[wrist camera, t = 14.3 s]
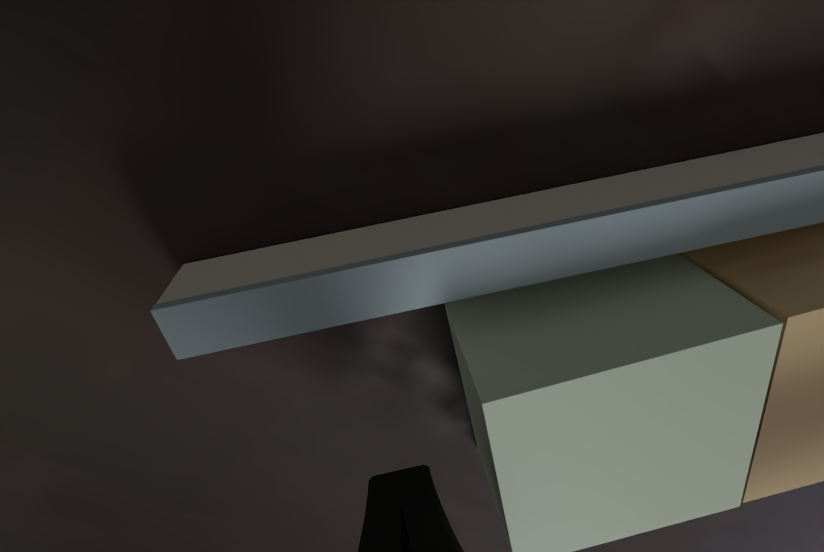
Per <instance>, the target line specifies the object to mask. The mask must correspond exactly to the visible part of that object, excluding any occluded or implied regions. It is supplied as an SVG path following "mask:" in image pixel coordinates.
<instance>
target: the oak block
mask: <svg viewBox="0 0 824 552" xmlns="http://www.w3.org/2000/svg"><path fill="white" fill-rule="evenodd" d="M678 254H680V255H681V256H683V257H684V258H686V259H687V260H689V261H690V262H692V263H693V264H695V265H696V266H698V267H699V268H701V269H702V270H704V271H705V272H707V273H709V274H710V275H712V276H713V277H715V278H716V279H718V280H719V281H721V282H722V283H724V284H725V285H727V286H728V287H730V288H731V289H733V290H734V291H736V292H737V293H739V294H740V295H742V296H743V297H745V298H746V299H748V300H749V301H751V302H752V303H754V304H755V305H757V306H758V307H760V308H761V309H763V310H764V311H766V312H767V313H769V314H770V315H772V316H773V317H775V318H776V319H778V320H779V321H781V322H782V323H783V326H782V330H781V335H780V339H779V343H778V347H777V351H776V356H775V360H774V364H773V368H772V373H771V377H770V381H769V385H768V389H767V394H766V398H765V402H764V406H763V410H762V415H761V419H760V423H759V427H758V432H757V436H756V440H755V444H754V448H753V453H752V457H751V461H750V465H749V469H748V474H747V478H746V482H745V486H744V490H743V495H742V499H741V501H742V503H744V502H748V501H752V500H755V499H759V498H763V497H766V496H770V495H774V494H777V493H781V492H785V491H788V490H792V489H796V488H799V487H803V486H807V485H810V484H814V483H818V482H821V481H824V222H822V223H818V224H813V225H808V226H803V227H799V228H794V229H789V230H785V231H780V232H775V233H771V234H766V235H761V236H757V237H752V238H747V239H742V240H738V241H733V242H728V243H724V244H719V245H714V246H710V247H705V248H700V249H696V250H691V251H686V252H681V253H678Z"/></svg>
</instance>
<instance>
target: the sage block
mask: <svg viewBox="0 0 824 552" xmlns="http://www.w3.org/2000/svg"><path fill="white" fill-rule="evenodd" d="M444 304H445V309H446V313H447V317H448V322H449V326H450V330H451V335H452V339H453V343H454V348H455V352H456V357H457V361H458V365H459V370H460V374H461V378H462V383H463V387H464V391H465V396H466V400H467V404H468V409H469V413H470V417H471V422H472V426H473V430H474V435H475V439H476V444H477V448H478V451H479V454H480V457H481V460H482V463H483V467H484V470H485V473H486V476H487V479H488V482H489V485H490V488H491V492H492V495H493V498H494V501H495V504H496V507H497V510H498V513H499V517H500V520H501V523H502V526H503V529H504V532H505V535H506V538H507V542H508V545H509V548H510V551H511V552H573V551H577V550H580V549H584V548H588V547H592V546H595V545H599V544H603V543H606V542H610V541H614V540H617V539H621V538H625V537H628V536H632V535H636V534H640V533H643V532H647V531H651V530H654V529H658V528H662V527H665V526H669V525H673V524H676V523H680V522H684V521H688V520H691V519H695V518H699V517H702V516H706V515H710V514H713V513H717V512H721V511H724V510H728V509H732V508H736V507H739V506H740V503H741V499H742V495H743V490H744V486H745V482H746V478H747V474H748V469H749V465H750V461H751V457H752V453H753V448H754V444H755V440H756V436H757V432H758V427H759V423H760V419H761V415H762V410H763V406H764V402H765V398H766V394H767V389H768V385H769V381H770V377H771V373H772V368H773V364H774V360H775V356H776V351H777V347H778V343H779V339H780V335H781V330H782V326H783V323H782V322H781V321H779V320H778V319H776V318H775V317H773V316H772V315H770V314H769V313H767V312H766V311H764V310H763V309H761V308H760V307H758V306H757V305H755V304H754V303H752V302H751V301H749V300H748V299H746V298H745V297H743V296H742V295H740V294H739V293H737V292H736V291H734V290H733V289H731V288H730V287H728V286H727V285H725V284H724V283H722V282H721V281H719V280H718V279H716V278H715V277H713V276H712V275H710V274H709V273H707V272H705V271H704V270H702V269H701V268H699V267H698V266H696V265H695V264H693V263H692V262H690V261H689V260H687V259H686V258H684V257H683V256H681V255H680V254H678V253H677V254H672V255H667V256H663V257H658V258H653V259H649V260H644V261H639V262H634V263H630V264H625V265H620V266H616V267H611V268H606V269H602V270H597V271H592V272H588V273H583V274H578V275H573V276H569V277H564V278H559V279H555V280H550V281H545V282H541V283H536V284H531V285H527V286H522V287H517V288H512V289H508V290H503V291H498V292H494V293H489V294H484V295H480V296H475V297H470V298H466V299H461V300H456V301H451V302H447V303H444Z"/></svg>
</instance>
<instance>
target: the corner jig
mask: <svg viewBox="0 0 824 552" xmlns="http://www.w3.org/2000/svg"><path fill="white" fill-rule="evenodd" d="M822 222H824V133H820V134H815V135H810V136H805V137H800V138H795V139H790V140H785V141H781V142H776V143H771V144H766V145H761V146H756V147H751V148H747V149H742V150H737V151H732V152H727V153H722V154H717V155H712V156H708V157H703V158H698V159H693V160H688V161H683V162H678V163H674V164H669V165H664V166H659V167H654V168H649V169H644V170H639V171H635V172H630V173H625V174H620V175H615V176H610V177H605V178H600V179H596V180H591V181H586V182H581V183H576V184H571V185H566V186H562V187H557V188H552V189H547V190H542V191H537V192H532V193H527V194H523V195H518V196H513V197H508V198H503V199H498V200H493V201H489V202H484V203H479V204H474V205H469V206H464V207H459V208H454V209H450V210H445V211H440V212H435V213H430V214H425V215H420V216H415V217H411V218H406V219H401V220H396V221H391V222H386V223H381V224H377V225H372V226H367V227H362V228H357V229H352V230H347V231H342V232H338V233H333V234H328V235H323V236H318V237H313V238H308V239H304V240H299V241H294V242H289V243H284V244H279V245H274V246H269V247H265V248H260V249H255V250H250V251H245V252H240V253H235V254H231V255H226V256H221V257H216V258H211V259H206V260H201V261H196V262H192V263H187V264H183V265H182V267H181V268H180V270H179V271H178V273H177V274H176V275H175V277H174V278H173V280H172V281H171V283H170V284H169V286H168V287H167V289H166V290H165V291H164V293H163V294H162V296H161V297H160V299H159V300H158V302H157V303H156V304H154V306H153V307H152V309H151V310H150V312H151V313H152V315H153V317H154V319H155V321H156V323H157V324H158V326H159V328H160V330H161V332H162V333H163V335H164V337H165V339H166V341H167V342H168V344H169V346H170V348H171V350H172V352H173V353H174V355H175V357H176V359H177V360H179V359H184V358H189V357H193V356H198V355H203V354H207V353H212V352H217V351H221V350H226V349H231V348H236V347H240V346H245V345H250V344H254V343H259V342H264V341H268V340H273V339H278V338H283V337H287V336H292V335H297V334H301V333H306V332H311V331H315V330H320V329H325V328H329V327H334V326H339V325H344V324H348V323H353V322H358V321H362V320H367V319H372V318H376V317H381V316H386V315H390V314H395V313H400V312H405V311H409V310H414V309H419V308H423V307H428V306H433V305H437V304H442V303H447V302H451V301H456V300H461V299H466V298H470V297H475V296H480V295H484V294H489V293H494V292H498V291H503V290H508V289H512V288H517V287H522V286H527V285H531V284H536V283H541V282H545V281H550V280H555V279H559V278H564V277H569V276H573V275H578V274H583V273H588V272H592V271H597V270H602V269H606V268H611V267H616V266H620V265H625V264H630V263H634V262H639V261H644V260H649V259H653V258H658V257H663V256H667V255H672V254H677V253H681V252H686V251H691V250H696V249H700V248H705V247H710V246H714V245H719V244H724V243H728V242H733V241H738V240H742V239H747V238H752V237H757V236H761V235H766V234H771V233H775V232H780V231H785V230H789V229H794V228H799V227H803V226H808V225H813V224H818V223H822Z"/></svg>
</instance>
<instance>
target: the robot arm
mask: <svg viewBox="0 0 824 552" xmlns="http://www.w3.org/2000/svg"><path fill="white" fill-rule="evenodd" d="M358 552H463V550H462V548H461V546H460V544H459V542H458V540H457V538H456V536H455V534H454V532H453V530H452V528H451V526H450V524H449V521H448V519H447V517H446V514H445V512H444V510H443V508H442V505H441V503H440V500H439V498H438V495H437V492H436V490H435V487H434V484H433V480H432V477H431V473H430V469H429V467H428V466H425V465H421V466H416V467H412V468H407V469H403V470H398V471H394V472H390V473H385V474H381V475H376V476H373V477H372V478H371V479H370V480H369V485H368V496H367V504H366V511H365V517H364V523H363V529H362V534H361V539H360V544H359V549H358Z"/></svg>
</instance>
